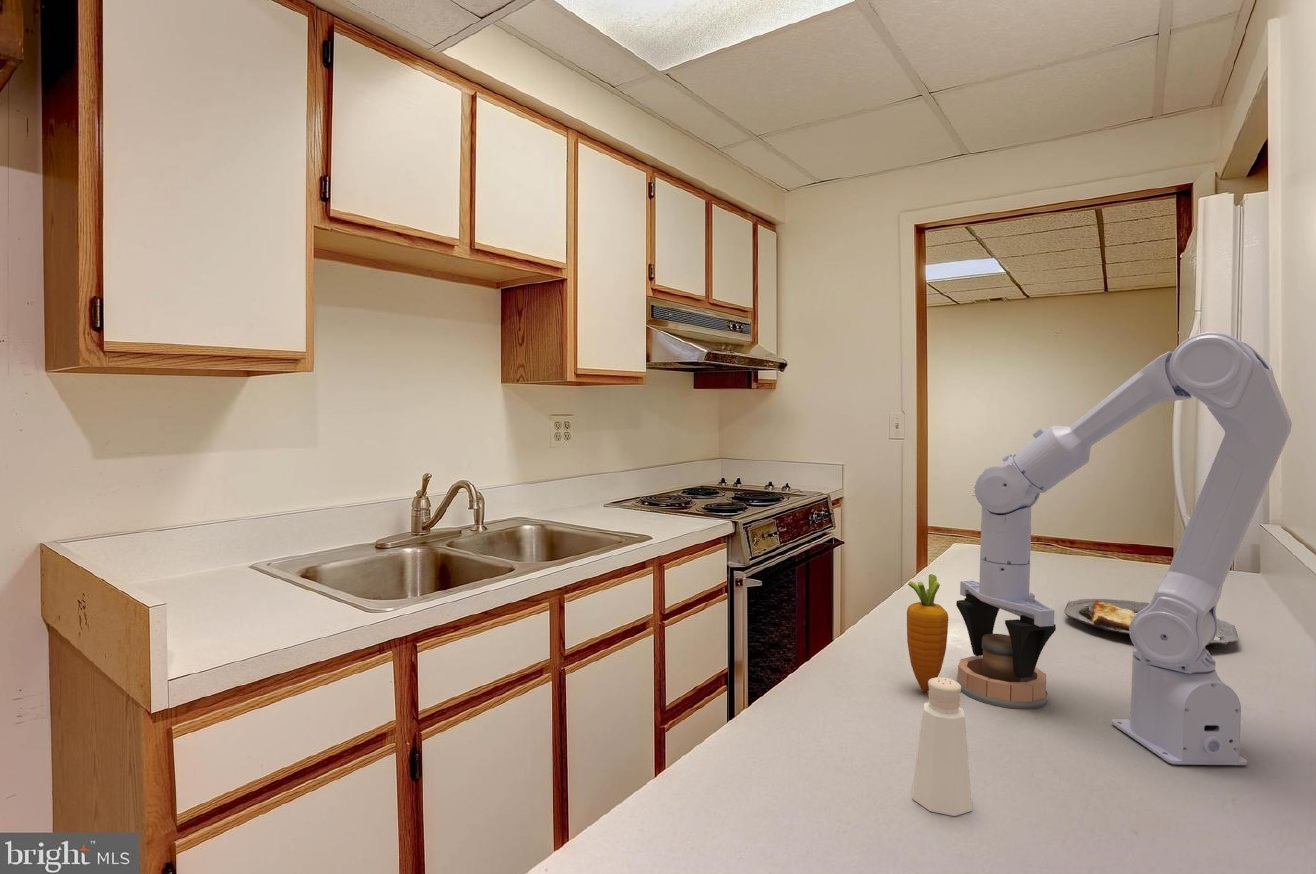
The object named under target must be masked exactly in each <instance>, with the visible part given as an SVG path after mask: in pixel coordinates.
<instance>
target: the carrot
mask: <svg viewBox="0 0 1316 874" xmlns="http://www.w3.org/2000/svg"><path fill="white" fill-rule="evenodd" d="M907 585H908V586H909V587H911V588H912V589H913V590H914V591H915V593H916V595H917V596H918V598H919V601H917V602H914V603H912V604H909V606H908V607H907V610H906V638H907V639H906V641H907V642H906V643H907V649H908V655H909V660H910V665H911V669H912V672H913V675H914V677H915V679H916V681H917V684H918V686H919V688H920V689H921V690H922V692H923V693H929V686H928V681H929V680H930V679H932V678H936V677H939V675H940V673H941V671H942V668H943V663H944V661H945V660H944V659H945V655H946V651H947V644H948V630H949V614H948V611H947V610H946V609H945V608H944V607H942V605H941V604H938V603H935V597H936V594H937V592H938V591H939V589H940V586H941V584H940V582H938V578H937V576H936V574H934V573H932V574H931V573H930V574H928V588H927V589H926V588H925V585H924V583H923V581H917V584H916V583H915V582H914V581H911V580H910V581H909V582H908V583H907Z"/></svg>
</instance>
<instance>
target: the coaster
mask: <svg viewBox="0 0 1316 874" xmlns="http://www.w3.org/2000/svg"><path fill="white" fill-rule="evenodd" d="M982 664H983V656H975V655H972V656H968V657H964V658H961V659H960V660H959V662H958V665H957V677H956V682H958V683H959V684H960V685H961V691H960V693H962V694H963V695H965V696H968V697H969V698H971V699H972V700H973V699H974V700H976V701H979V702H981V703H985V704H988V705H992V706H995V707H996V706H997V707H1001V708H1009V709H1018V710H1028V709H1029V710H1030V709H1036V708H1041V707H1044V706H1045V705H1046V704H1047V703H1048V699H1049V698H1048V695H1049V694H1048V691H1047V674H1046V673H1045V672H1044V671H1042V670H1041V669H1039V668H1037V666H1036V667H1035V670H1034V673H1033V676H1032V677H1027V678H1021V679H1020V682H1006V681H1001V680H995V679H990V678H987V677H984V676H982Z"/></svg>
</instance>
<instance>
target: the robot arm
mask: <svg viewBox="0 0 1316 874" xmlns="http://www.w3.org/2000/svg"><path fill="white" fill-rule="evenodd" d="M1192 397H1194V398H1195V399H1196V400H1198V401H1200V402H1201V403H1202V404H1204V405H1205V406H1206V407H1207V409H1208V411H1209V412H1210V413H1211V414H1212V416H1213V417H1214V419H1215V420H1216V421H1217V422H1218V424H1219V426H1220V427H1221V428H1222V429H1223V431H1224V436H1223V438H1222V441H1221V443H1220V446H1219V447H1218V450H1217V453H1216V455H1215V457H1214V460H1213V462H1212V464H1211V467H1210V470H1209V472H1208V474H1207V476H1206V479H1205V482H1204V484H1203V486H1202V489H1201V490H1200V493H1199V495H1198V497H1197V500H1196V502H1195V506H1194V508H1193V510H1192V511H1191V514H1190V517H1189V519H1188V522H1187V525H1186V527H1185V529H1184V531H1183V534H1182V536H1181V539H1180V541H1179V543H1178V546H1177V548H1176V551H1175V553H1174V556H1173V558H1172V560H1171V563H1170V565H1169V567H1168V570H1167V572H1166V573H1165V575H1164V577H1163V578H1162V580H1161V582H1160V583H1159V585H1158V586H1157V588H1156V590H1155V592H1154V594H1153V596H1152V599H1151V601H1150V602H1148V603H1149V605H1148V606H1147V607H1145V608H1144V609H1142V610H1141V611H1139V612H1138V613H1137V614H1136V615H1135V616H1134V617H1133V618H1132V620H1131V623H1130V627H1129V633H1130V634H1129V637H1130V640H1131V643H1132V645H1133V646H1134V647H1133V648H1132V661H1131V664H1132V665H1131V690H1130V692H1131V694H1130V717H1129V718H1130V719H1128V718H1127V719H1126V718H1123V719H1122V718H1119V719H1118V718H1113V719H1111V722H1110V723H1111V725H1113V726H1114V727H1116V728H1118V729H1119V730H1121V732H1123V733H1125V734H1126V735H1128V736H1129V737H1131V738H1132V739H1134V740H1135V741H1136V742H1138V743H1140V745H1142V746H1143V747H1145V748H1146V749H1148V750H1149V751H1151V752H1152V753H1154V754H1155V755H1156V756H1158V757H1160V758H1161V759H1162V760H1164V761H1165V762H1167V763H1169V764H1170V765H1171V764H1172V765H1190V766H1191V765H1193V766H1195V765H1197V766H1199V765H1200V766H1202V765H1203V766H1204V765H1205V766H1206V765H1207V766H1213V765H1214V766H1247V765H1248V759H1245V758H1244V757H1243V756H1241V755H1240V746H1241V745H1240V743H1241V718H1242V705H1241V702H1240V699H1239V697H1238V695H1237V693H1236V692H1235V690H1234V689H1232V688H1231V686H1228V685H1227V684H1226V683H1225V682H1223V681H1222V680H1221V678H1220V676H1219V675H1218V673H1217V670H1216V660H1215V659H1213V657H1212V655H1211V654H1210V651H1209V650H1208V649H1206V646H1208V644H1209V643H1210V642H1211V641H1212V640H1213V639H1214V638H1215V636H1216V634H1217V630H1218V622H1217V619H1218V618H1217V615H1216V614H1217V606H1218V603H1219V601H1220V599H1221V597H1222V591H1223V585H1224V582H1225V581H1226V579H1227V576H1228V575H1229V571H1230V569H1231V568H1232V566H1233V562H1234V560H1235V558H1236V556H1237V554H1238V552H1239V549H1240V546H1241V545H1242V542H1243V540H1244V537H1245V535H1246V534H1247V531H1248V530H1249V527H1250V525H1251V522H1252V519H1253V517H1254V515H1255V513H1256V511H1257V508H1258V506H1259V503H1260V502H1261V499H1262V497H1263V495H1264V493H1265V490H1266V488H1267V485H1268V484H1269V481H1270V479H1271V477H1272V475H1273V472H1274V470H1275V468H1276V466H1277V463H1278V461H1279V458H1280V457H1281V454H1282V452H1283V449H1284V447H1285V445H1286V442H1287V441H1288V439H1289V436H1290V433H1291V431H1292V425H1293V424H1292V420H1291V417H1290V414H1289V412H1288V409H1287V407H1286V404H1285V402H1284V399H1283V397H1282V394H1281V392H1280V388H1279V386H1278V384H1277V381H1276V378H1275V374H1274V370H1273V368H1272V366H1271V365H1270V363H1268V362H1267V361H1266V360H1265V359H1264V358H1263V357H1262V356H1261V355H1260V354H1259V353H1258V352H1257V350H1255V349H1254V348H1253V347H1252V346H1251V345H1249V344H1247V343H1246V342H1243V341H1240V340H1239V339H1238V338H1235V337H1234V336H1232V335H1229V334H1226V333H1222V332H1216V331H1209V332H1201V333H1198V334H1195V335H1192V336H1189V337H1188V338H1186V339H1185V340H1184V341H1182V342H1181V343H1179V344H1178V345H1177V346H1176V348H1175V349H1174V350H1173V351H1170V350H1169V351H1166V353H1163V354H1161V355H1159V356H1158V357H1156V358H1154V359H1153V360H1152V361H1150V362H1149V363H1148V364H1146V365H1145V366H1144V367H1143V368H1141V369H1140V370H1139V371H1137V372H1136V373H1135V374H1133V375H1132V376H1131V377H1130V378H1128V379H1127V380H1126V381H1125V382H1124V383H1123V384H1121V385H1120V386H1118V387H1117V388H1115V390H1114V391H1112V392H1110V394H1108V396H1106V397H1105V398H1104V399H1102V400H1101V401H1100V402H1099V403H1097V404H1096V405H1095V406H1093V408H1091V409H1089V411H1087V412H1086V413H1085V414H1084V415H1083V416H1081V417H1080V418H1078V419H1077V420H1076V421H1075V422H1074V423H1072V424H1071V425H1070V426H1065V425H1052V426H1050V427H1049V428H1048V429H1046V428H1045V427H1041V428H1039V429H1037V430H1036V431H1034V432H1033V433H1032V436H1033V438H1034V439H1032V440H1031V441H1030V442H1029V443H1028V444H1025V446H1023V447H1021V449H1019V450H1017V452H1015V453H1014V454H1011V453H1009V454H1006V455H1004V456H1003V457H1002V462H1003V466H1002V465H997V466H989V467H988V468H985V469H984V471H983V472H982V473H981V474H980V475H979V476H978V478H977V479H976V482H975V484H974V494H975V498H976V500H977V502H978V503H979V504H980V506H981V522H980V547H979V549H980V551H979V552H980V553H979V558H980V559H979V581H975V580H960V582H959V584H960V585H959V587H960V588H959V595H960V596H962V597H965V598H964V599H959V600H956V605H955V606H956V608H957V609H958V611H959V613H960V615H961V616H962V619H963V621H964V624H965V626H966V629H967V634H968V636H969V637H968V638H969V641H970V647H971V649H972V654H973V656H983V649H982V637H983V636H984V635H986V634H994V629H995V623H996V620H997V616H998V613H999V611H1000V610H1003V611H1005V612H1008V613H1010V614H1013V615H1016V616H1018V617H1019V619H1005V620H1004V624H1005V627H1006V630H1007V632H1008V635H1009V636H1010V639H1011V644H1012V652H1013V670H1014V675H1015V676H1016V677H1018V678H1027V677H1032V676H1033V673H1034V670H1035V667H1036V668H1037V664H1038V661H1039V657H1040V655H1041V653H1042V651H1043V649H1044V647H1045V645H1046V644H1047V642H1048V641H1049V639H1050V638H1051V637H1052V635H1054V634H1055V632H1056V630H1057V629H1056V627H1057V625H1056V624H1055V609H1053V608H1050V607H1048V606H1046V605H1044V604H1042V603H1041V602H1039V601H1038V600H1037V599H1036V598H1035V596H1036V595H1035V594H1034V593H1031V592H1030V585H1031V584H1030V581H1031V580H1030V579H1031V577H1030V575H1031V548H1032V547H1031V546H1032V545H1031V542H1032V539H1031V537H1032V508H1033V506H1034V505H1035V504H1036V503H1037V501H1038V500H1039V498H1040V496H1041V494H1044V493H1046V492H1047V491H1049V490H1050V489H1051V488H1053V487H1055V486H1056V485H1057V484H1059V483H1060V482H1062V481H1063V480H1065V479H1066V478H1067V477H1069V476H1070V475H1072V474H1073V473H1075V472H1077V471H1078V470H1080V468H1082V467H1084V466H1085V465H1086V464H1088V463H1089V461H1090V456H1091V450H1092V449H1091V448H1092V446H1093V445H1095V444H1097V443H1098V442H1100V441H1101V440H1103V439H1104V438H1106V437H1108V436H1109V435H1110V434H1112V433H1114V432H1115V431H1117V430H1119V429H1120V428H1121V427H1123V426H1124V425H1126V424H1127V423H1129V422H1131V421H1132V420H1133V419H1135V418H1136V417H1138V416H1140V415H1142V414H1143V413H1145V412H1146V411H1148V410H1150V409H1151V408H1152V407H1153V406H1156V405H1158V404H1165V403H1170V402H1171V403H1172V402H1176V401H1183V400H1189V399H1192Z"/></svg>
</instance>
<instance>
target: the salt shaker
mask: <svg viewBox="0 0 1316 874" xmlns="http://www.w3.org/2000/svg"><path fill="white" fill-rule="evenodd" d="M928 686H929V691H928V702H925V703H923V705H922V712H921V720H920V728H919V735H918V741H917V750H916V758H915V765H914V766H915V767H914V772H913V779H912V780H913V781H912V788H911V789H912V790H911V791H912V795H911V796H912V801H914V802H916V803H917V804H919V805H920V806H921V807H922V808H925V809H926V810H928V811H929V812H932V813H936V814H941V815H946V816H951V817H957V816H961V815H963V814H967V813H970V812H972V810H973V804H972V792H971V791H972V789H971V778H970V777H971V776H970V766H969V763H970V762H969V751H968V749H969V748H968V738H967V726H966V716H965V711H964V709H963V708H961V707H960V702H961V695H960V693H961V685H960V684H959V683H958V682H957V680H953V679H951V678H948V677H942V676H941V677H940V676H938V677H936V678H932V679H930V680H929V681H928Z"/></svg>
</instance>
